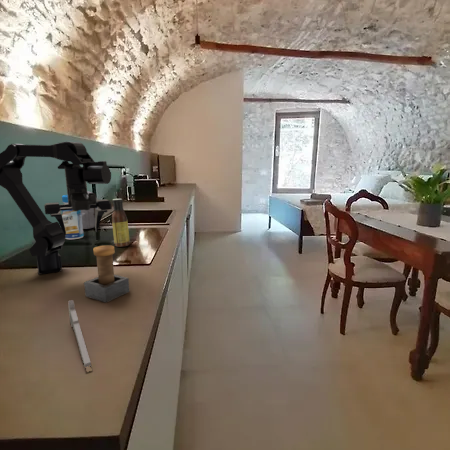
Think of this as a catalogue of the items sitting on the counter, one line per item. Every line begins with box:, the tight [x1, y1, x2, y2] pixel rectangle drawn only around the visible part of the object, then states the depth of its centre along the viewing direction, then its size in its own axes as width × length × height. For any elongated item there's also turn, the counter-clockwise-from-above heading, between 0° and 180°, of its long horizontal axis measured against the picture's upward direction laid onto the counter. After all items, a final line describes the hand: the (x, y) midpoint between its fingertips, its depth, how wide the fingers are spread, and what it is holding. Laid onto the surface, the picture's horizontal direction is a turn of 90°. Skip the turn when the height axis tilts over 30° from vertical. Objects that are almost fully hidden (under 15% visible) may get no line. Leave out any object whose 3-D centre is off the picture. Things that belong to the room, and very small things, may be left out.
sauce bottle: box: [111, 198, 130, 248], centre depth 136 cm, size 7×6×20 cm
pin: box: [93, 244, 116, 285], centre depth 87 cm, size 5×5×13 cm
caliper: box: [67, 299, 92, 367], centre depth 64 cm, size 20×1×6 cm, turn 32°
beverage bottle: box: [61, 194, 85, 240], centre depth 150 cm, size 8×8×20 cm
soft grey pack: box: [81, 190, 99, 230], centre depth 171 cm, size 15×8×20 cm, turn 172°
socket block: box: [83, 274, 130, 303], centre depth 88 cm, size 8×8×4 cm
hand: (81, 233), depth 103 cm, fingers open, 9 cm apart
